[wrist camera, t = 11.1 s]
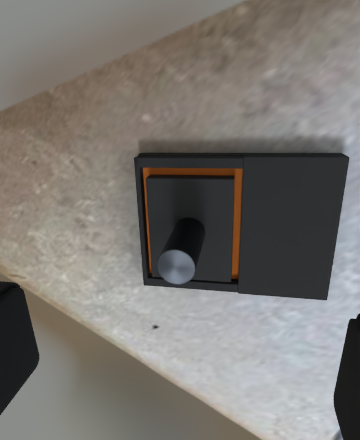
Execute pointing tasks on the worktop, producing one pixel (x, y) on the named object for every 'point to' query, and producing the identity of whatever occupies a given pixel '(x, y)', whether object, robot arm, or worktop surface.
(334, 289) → the worktop surface
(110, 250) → the worktop surface
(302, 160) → the base pad
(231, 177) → the black pad
